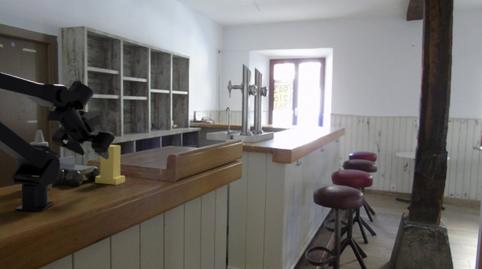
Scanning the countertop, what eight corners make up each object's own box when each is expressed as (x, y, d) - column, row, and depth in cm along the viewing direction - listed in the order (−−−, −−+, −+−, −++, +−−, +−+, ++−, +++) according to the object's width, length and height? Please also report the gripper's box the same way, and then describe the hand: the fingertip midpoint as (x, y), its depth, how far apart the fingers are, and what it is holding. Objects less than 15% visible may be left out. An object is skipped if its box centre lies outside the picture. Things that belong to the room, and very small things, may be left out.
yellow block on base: (116, 184, 115) (116, 147, 114) (95, 182, 117) (95, 145, 116) (124, 181, 120) (125, 145, 119) (104, 179, 122) (104, 144, 121)
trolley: (80, 186, 111) (80, 161, 110) (51, 183, 113) (50, 159, 113) (99, 180, 120) (100, 157, 120) (72, 177, 123) (72, 155, 122)
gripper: (113, 105, 101) (132, 140, 112) (61, 99, 106) (85, 134, 118) (92, 132, 94) (115, 168, 105) (38, 125, 99) (65, 159, 111)
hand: (95, 156), depth 110 cm, fingers open, 9 cm apart
